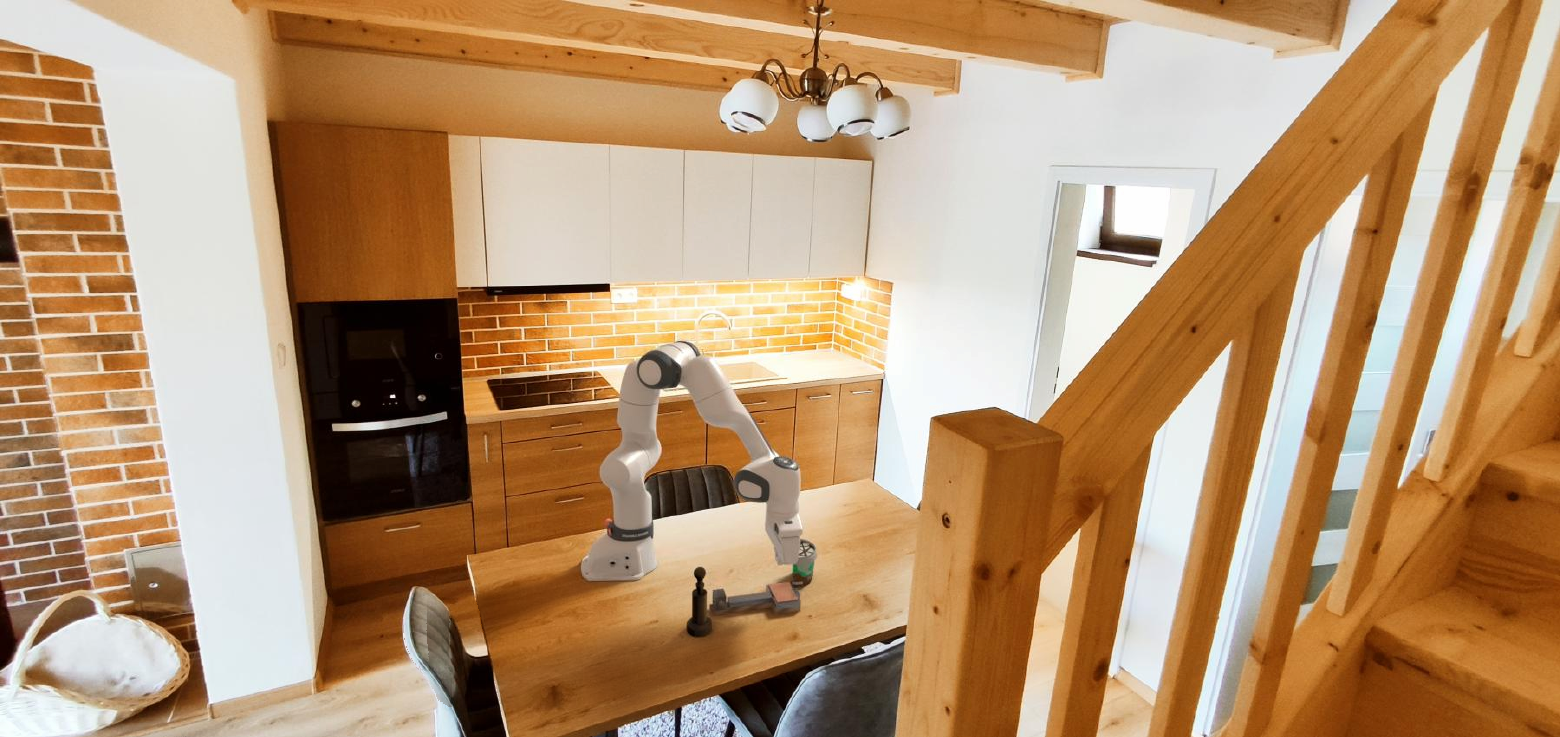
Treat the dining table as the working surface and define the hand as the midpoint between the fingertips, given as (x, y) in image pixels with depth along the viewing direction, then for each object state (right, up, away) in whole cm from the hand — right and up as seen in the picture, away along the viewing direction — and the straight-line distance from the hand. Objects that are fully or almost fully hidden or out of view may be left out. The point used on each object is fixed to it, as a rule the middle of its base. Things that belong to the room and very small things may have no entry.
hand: (779, 562), depth 201 cm
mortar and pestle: (-21, -15, -10) cm, 28 cm away
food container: (+8, -9, +16) cm, 20 cm away
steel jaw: (-4, -11, +1) cm, 12 cm away
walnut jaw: (-7, -12, +1) cm, 14 cm away
